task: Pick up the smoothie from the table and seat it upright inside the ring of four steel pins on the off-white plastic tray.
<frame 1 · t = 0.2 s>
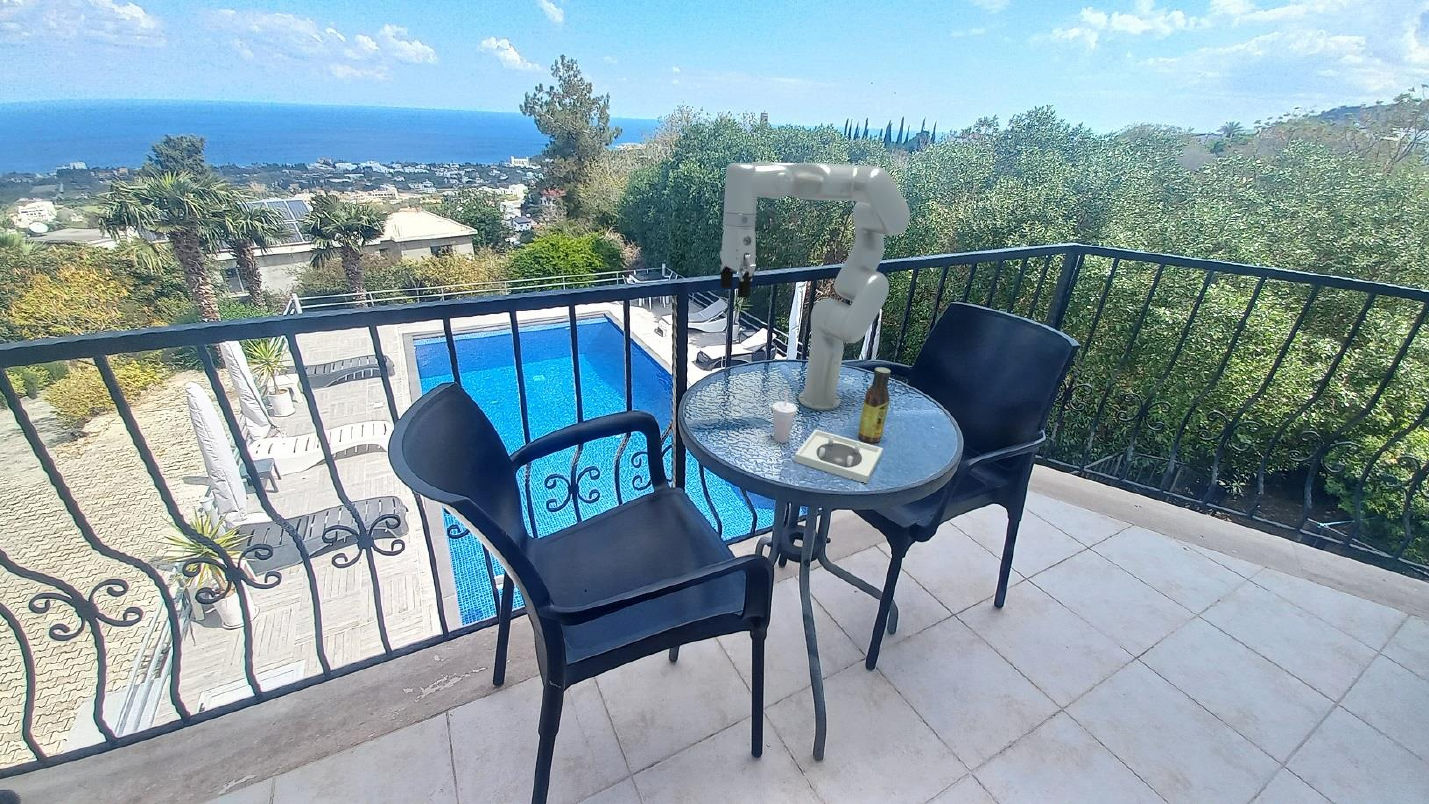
hand: (734, 292, 134), 37 cm above the table, tool pointing down, fingers open, 9 cm apart
smoothie: (780, 439, 143), on the table
sauce bottle: (869, 438, 146), on the table
pin tray: (838, 458, 135), on the table
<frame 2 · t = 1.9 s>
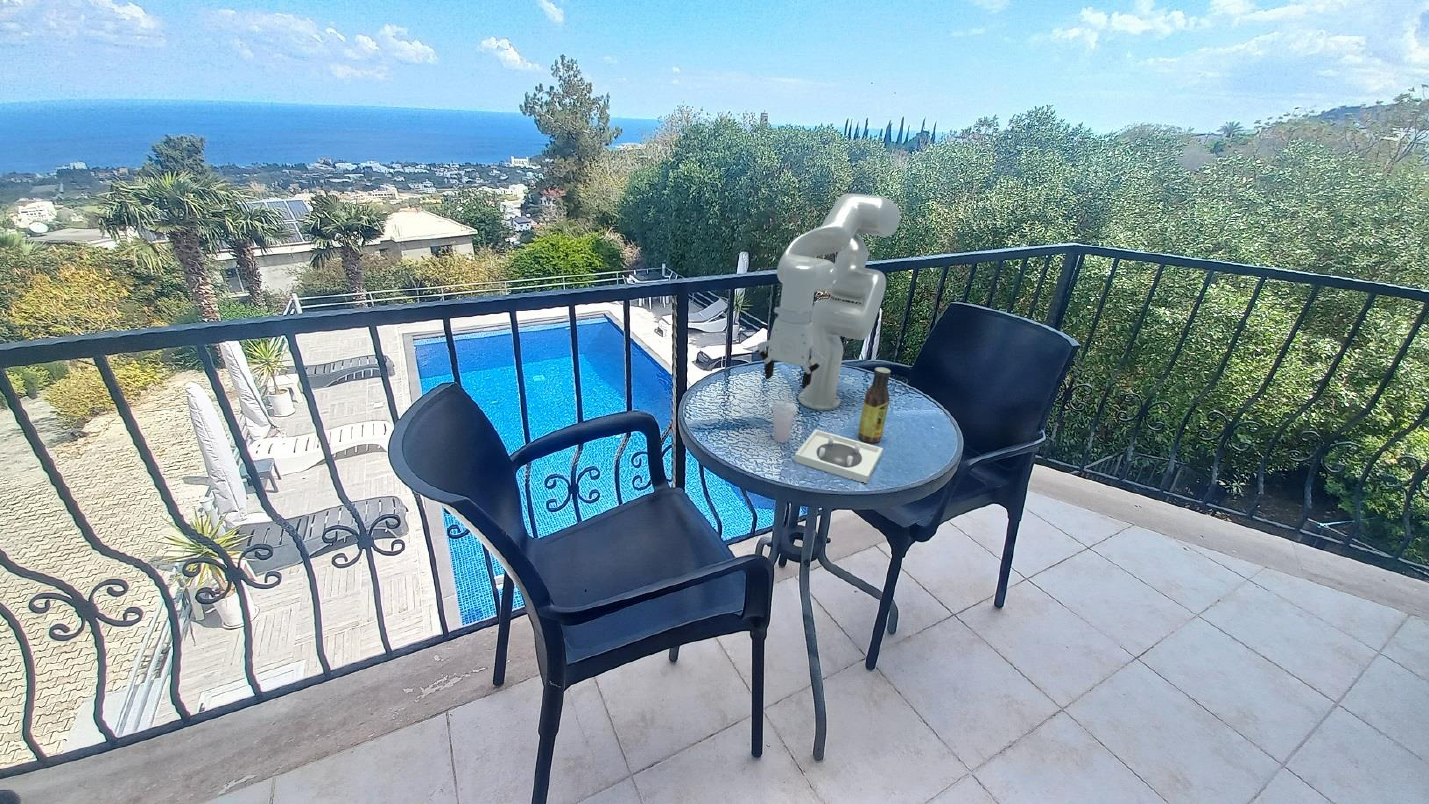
hand: (786, 382, 135), 17 cm above the table, tool pointing down, fingers open, 9 cm apart
nothing on the table moved.
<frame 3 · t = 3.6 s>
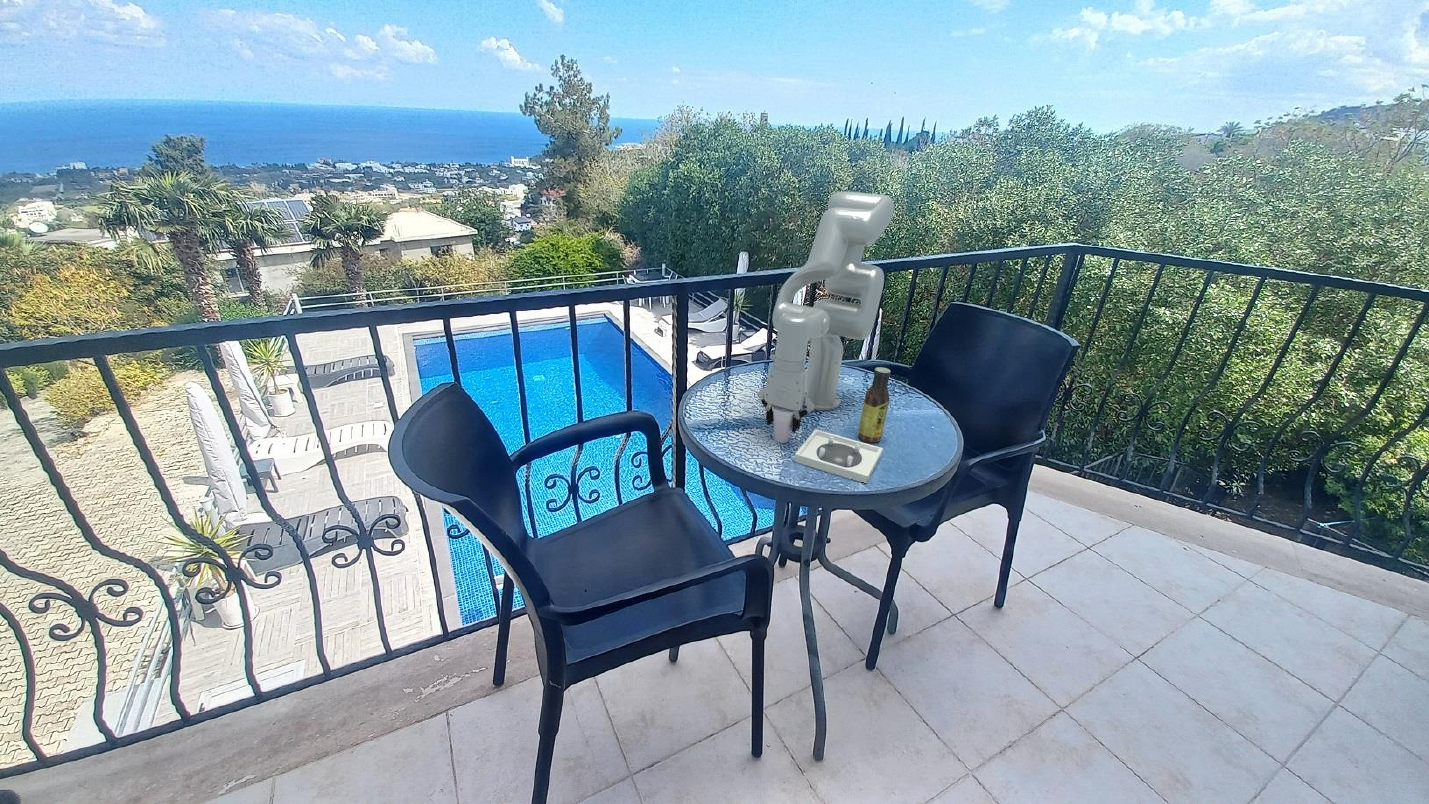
hand: (782, 426, 141), 4 cm above the table, tool pointing down, fingers closed on smoothie, 6 cm apart
smoothie: (780, 440, 143), on the table, touching gripper
everything else where it was.
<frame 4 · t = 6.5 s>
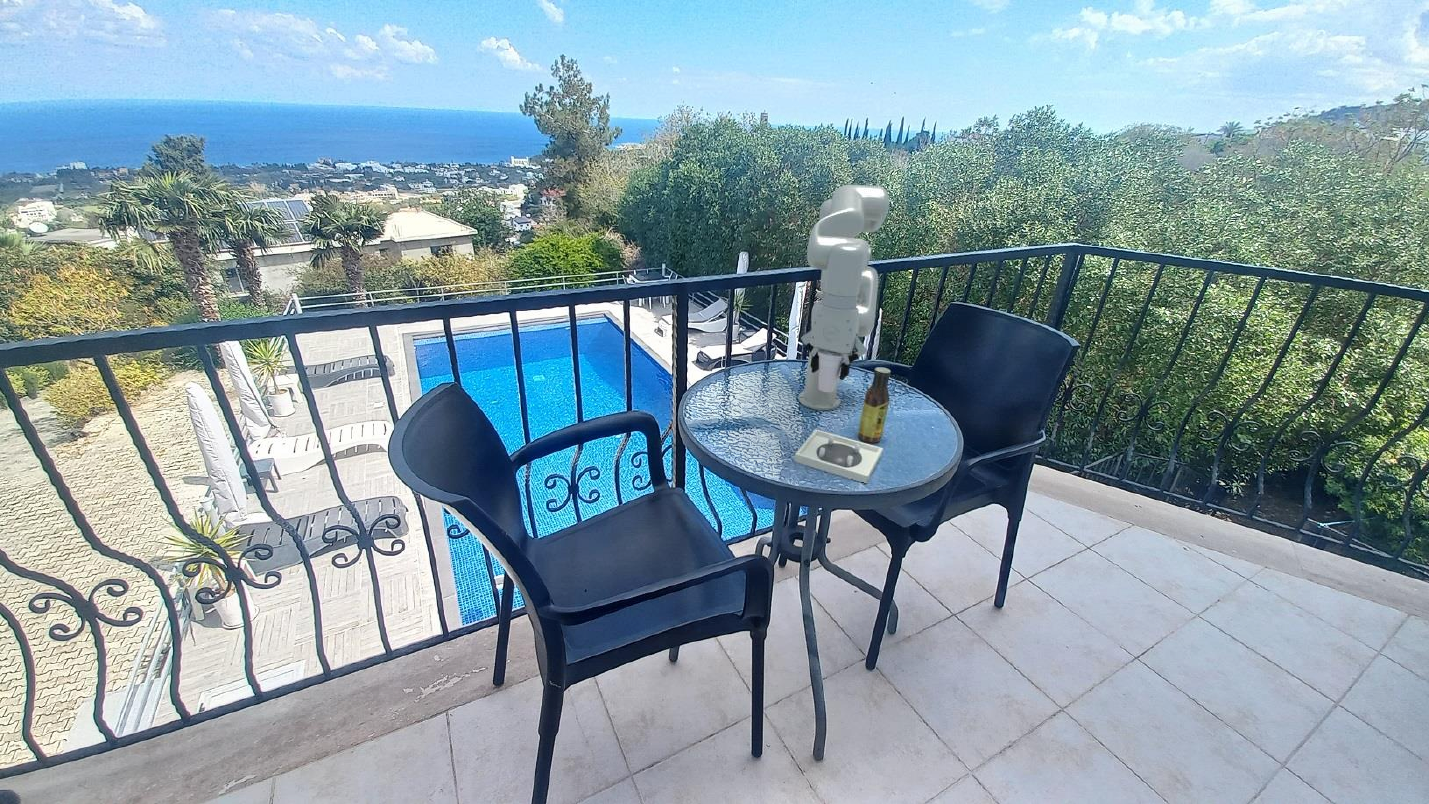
hand: (828, 373, 128), 22 cm above the table, tool pointing down, fingers closed on smoothie, 6 cm apart
smoothie: (826, 389, 130), point 18 cm above the table, touching gripper
everything else where it was.
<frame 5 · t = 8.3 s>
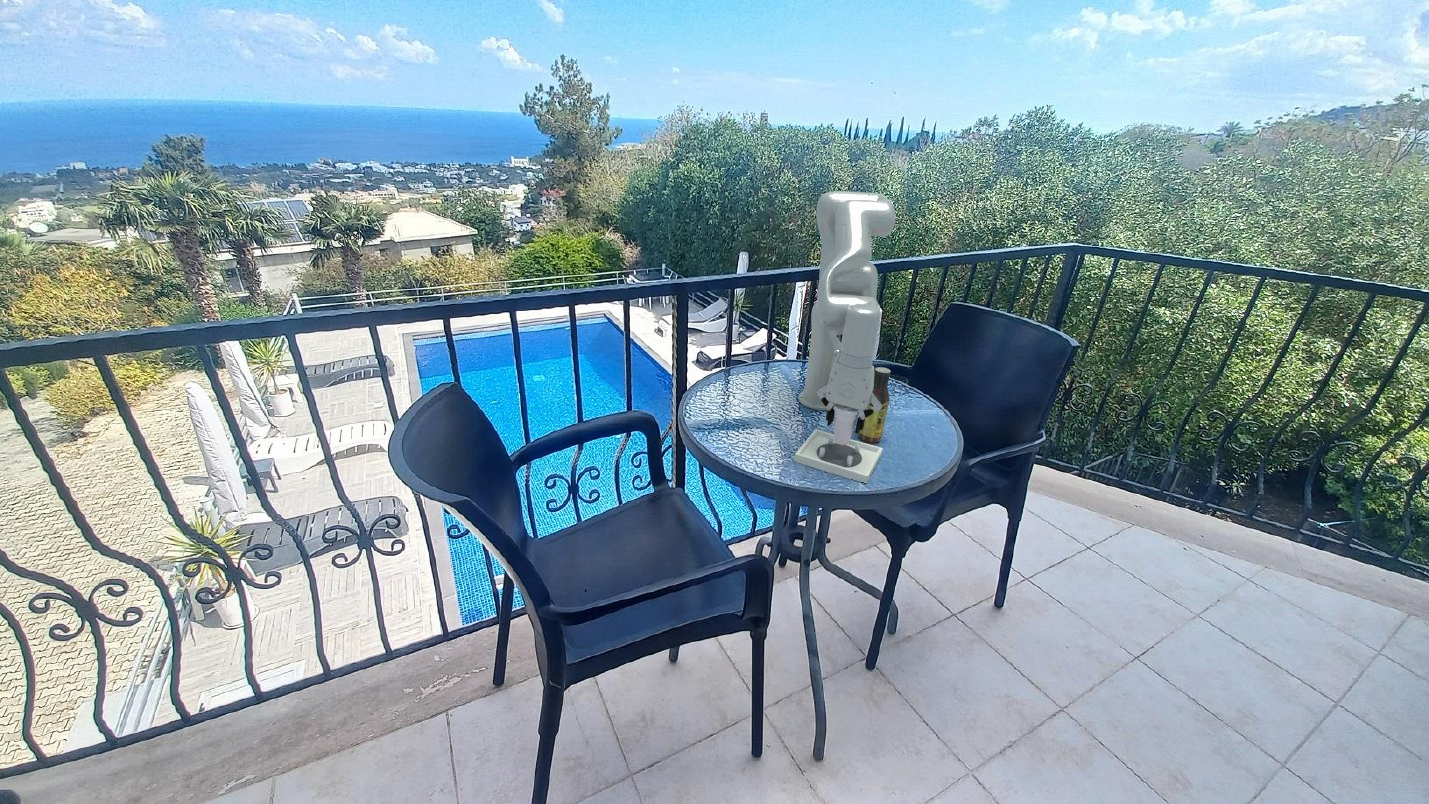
hand: (843, 426, 131), 9 cm above the table, tool pointing down, fingers closed on smoothie, 6 cm apart
smoothie: (841, 441, 133), point 5 cm above the table, touching gripper
everything else where it was.
when the fingers open (6 cm above the table, at t = 9.7 s): smoothie stays where it is, resting on pin tray.
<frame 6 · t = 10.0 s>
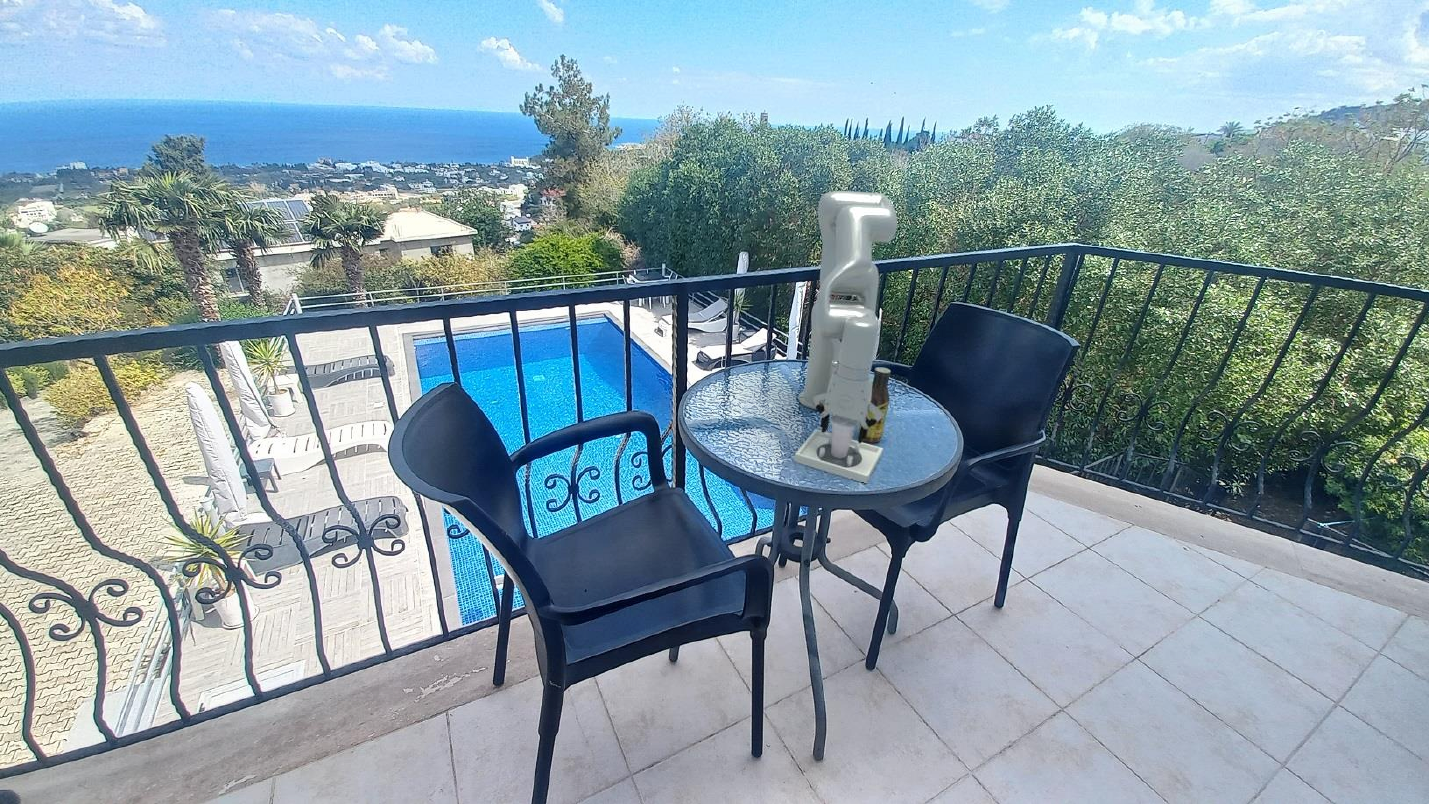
hand: (842, 435, 132), 7 cm above the table, tool pointing down, fingers open, 8 cm apart
smoothie: (838, 454, 135), point 1 cm above the table, touching pin tray
everything else where it was.
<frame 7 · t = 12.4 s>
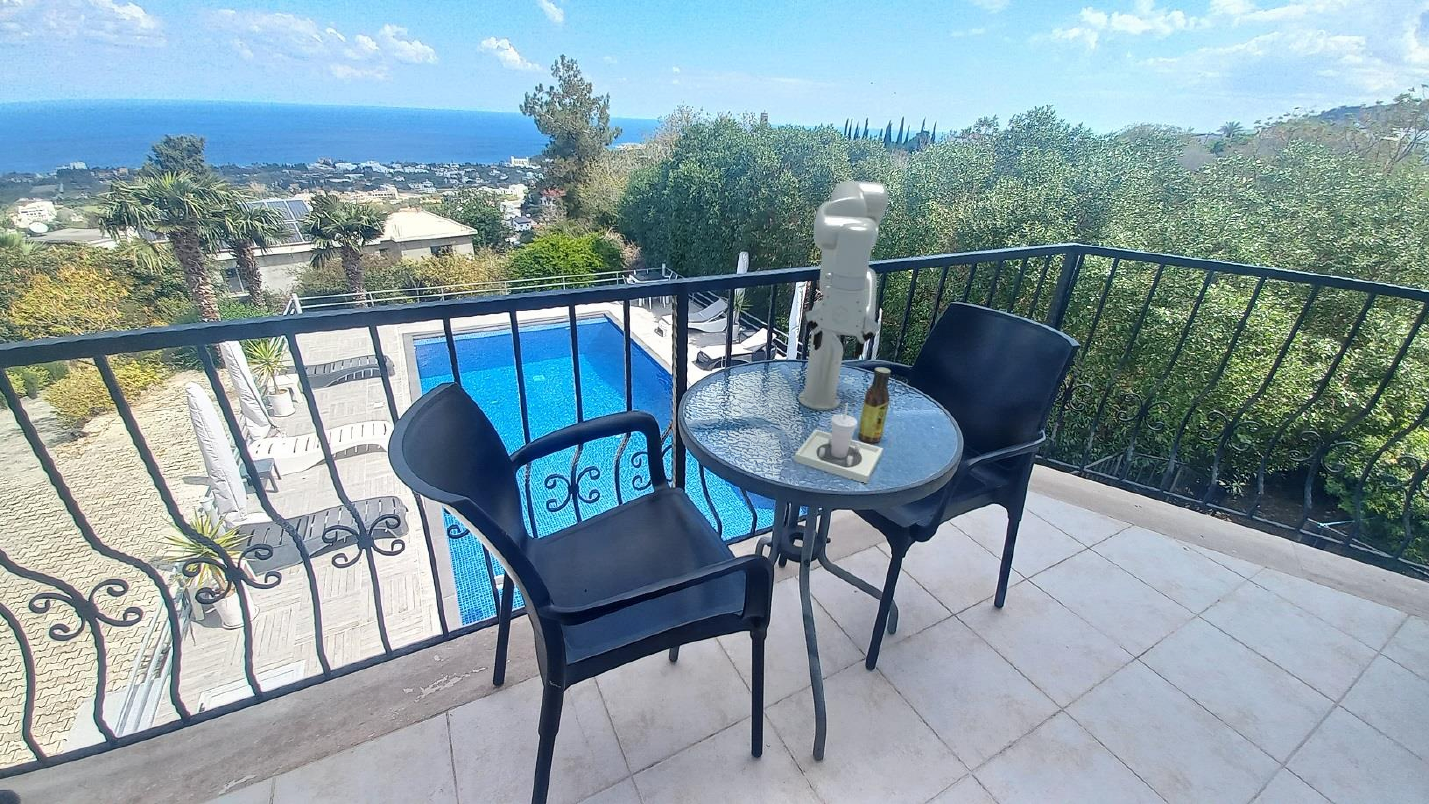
hand: (836, 352, 128), 26 cm above the table, tool pointing down, fingers open, 9 cm apart
nothing on the table moved.
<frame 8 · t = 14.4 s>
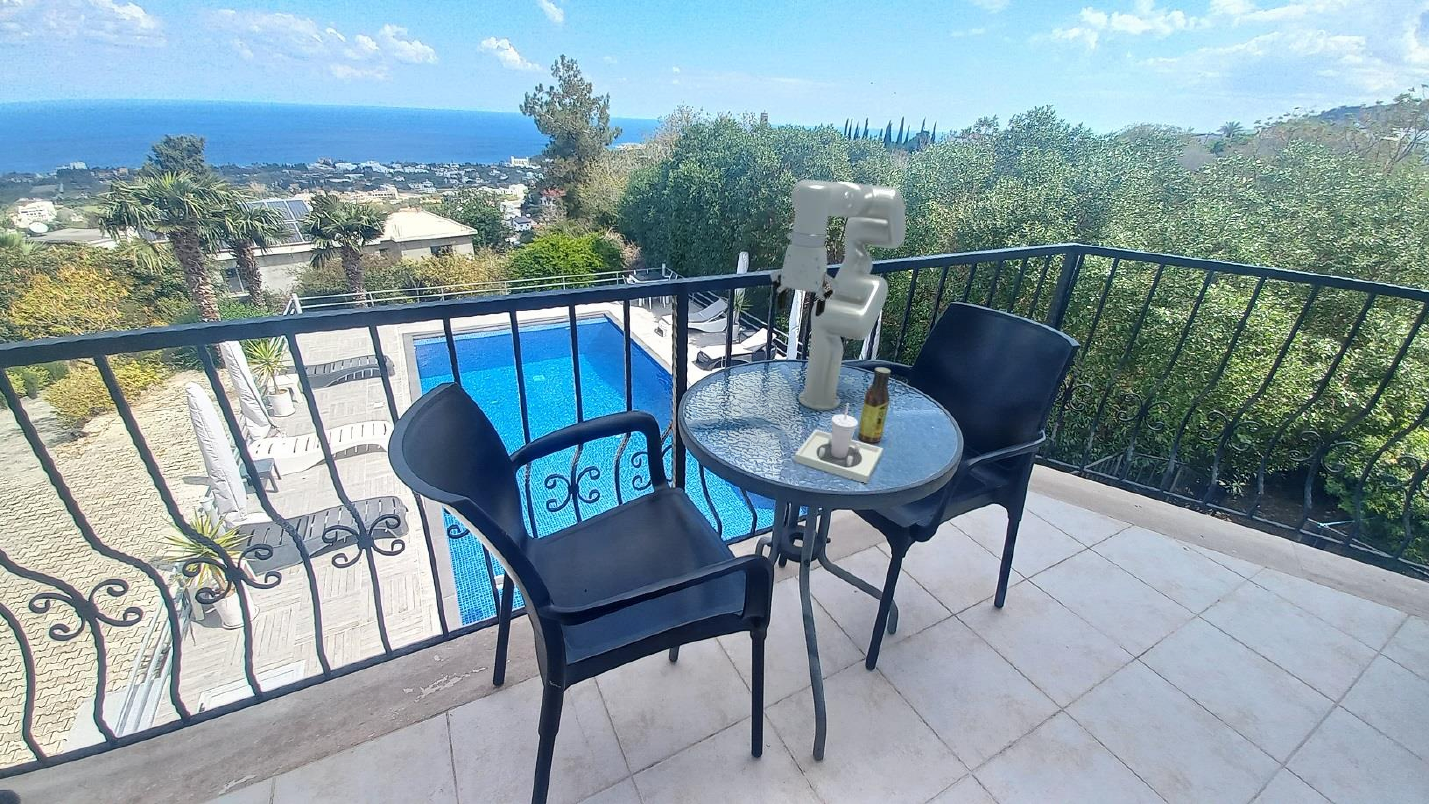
hand: (800, 311, 133), 33 cm above the table, tool pointing down, fingers open, 9 cm apart
nothing on the table moved.
at the end: smoothie 0.1 cm off-centre on the pin tray, point 1.0 cm above the pin tray's base; smoothie tilted 0°; the gripper is holding nothing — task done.
